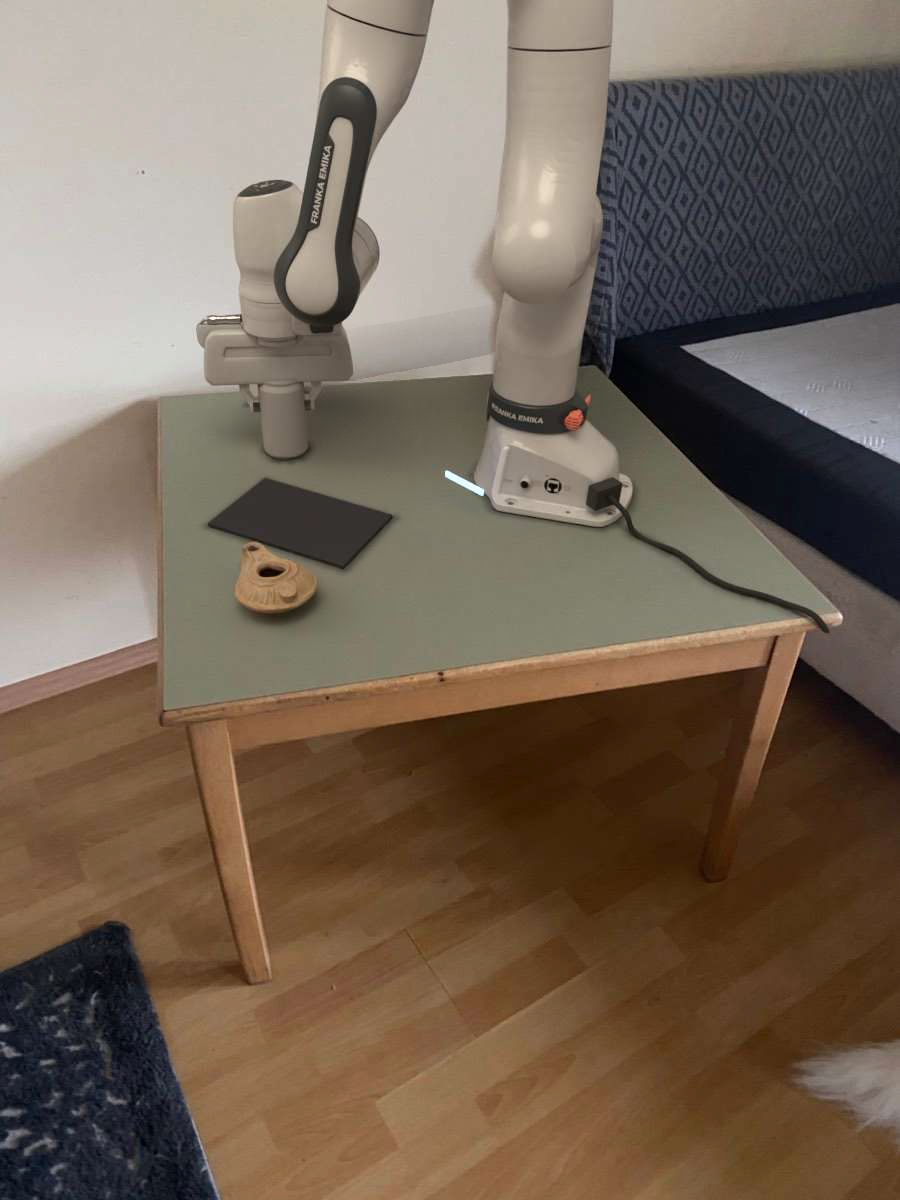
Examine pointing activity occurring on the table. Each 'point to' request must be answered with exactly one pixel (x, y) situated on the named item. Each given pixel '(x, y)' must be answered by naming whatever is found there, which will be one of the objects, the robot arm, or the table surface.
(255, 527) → the mat
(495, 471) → the robot arm
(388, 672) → the table surface
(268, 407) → the beverage can
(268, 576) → the pottery oil lamp
